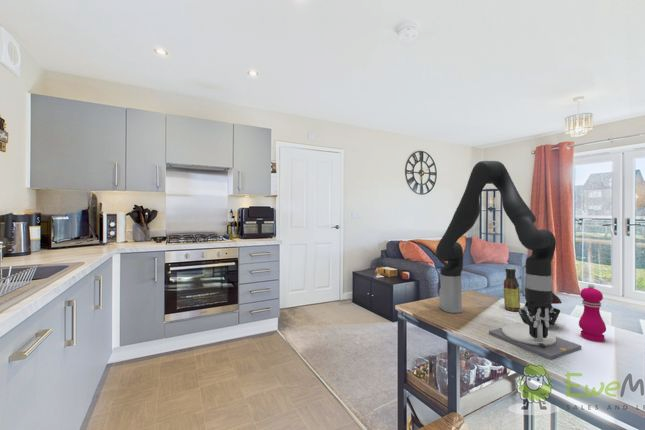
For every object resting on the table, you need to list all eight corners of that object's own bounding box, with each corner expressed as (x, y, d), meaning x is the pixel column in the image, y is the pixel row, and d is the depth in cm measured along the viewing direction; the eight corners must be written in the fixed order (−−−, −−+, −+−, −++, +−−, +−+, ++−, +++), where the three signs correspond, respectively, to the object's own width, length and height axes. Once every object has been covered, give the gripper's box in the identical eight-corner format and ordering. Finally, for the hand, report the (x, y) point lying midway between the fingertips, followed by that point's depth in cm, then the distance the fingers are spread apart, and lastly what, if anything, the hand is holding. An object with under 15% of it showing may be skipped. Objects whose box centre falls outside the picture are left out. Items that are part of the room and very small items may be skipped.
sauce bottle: (522, 312, 129) (521, 269, 129) (507, 311, 130) (506, 269, 130) (515, 307, 135) (515, 267, 135) (501, 307, 137) (500, 267, 137)
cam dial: (494, 325, 111) (494, 308, 111) (539, 327, 108) (538, 309, 108) (517, 346, 94) (517, 325, 94) (571, 349, 91) (570, 328, 91)
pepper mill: (573, 334, 105) (572, 282, 105) (591, 333, 106) (589, 281, 106) (593, 343, 98) (592, 287, 98) (612, 341, 98) (610, 286, 98)
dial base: (489, 334, 107) (488, 330, 107) (517, 326, 113) (517, 323, 113) (550, 360, 87) (550, 355, 87) (581, 349, 94) (581, 345, 94)
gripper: (526, 290, 91) (526, 342, 91) (568, 289, 91) (568, 341, 91) (510, 284, 99) (511, 332, 99) (549, 284, 99) (549, 332, 99)
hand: (538, 336), depth 95 cm, fingers closed on cam dial, 2 cm apart
